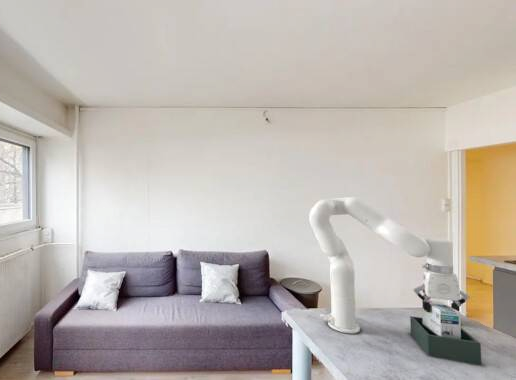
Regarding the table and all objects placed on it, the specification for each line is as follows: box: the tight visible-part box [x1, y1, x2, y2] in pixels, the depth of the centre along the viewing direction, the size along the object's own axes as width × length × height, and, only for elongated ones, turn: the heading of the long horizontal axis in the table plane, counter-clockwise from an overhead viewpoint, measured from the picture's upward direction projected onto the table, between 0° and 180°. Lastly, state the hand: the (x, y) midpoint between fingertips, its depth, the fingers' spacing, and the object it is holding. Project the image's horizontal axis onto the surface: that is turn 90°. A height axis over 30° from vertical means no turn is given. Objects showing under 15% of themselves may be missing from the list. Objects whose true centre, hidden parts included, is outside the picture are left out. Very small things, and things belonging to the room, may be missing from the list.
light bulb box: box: [421, 299, 462, 339], centre depth 105 cm, size 11×7×11 cm, turn 167°
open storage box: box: [409, 315, 482, 366], centre depth 105 cm, size 15×17×8 cm
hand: (440, 312), depth 105 cm, fingers open, 8 cm apart
